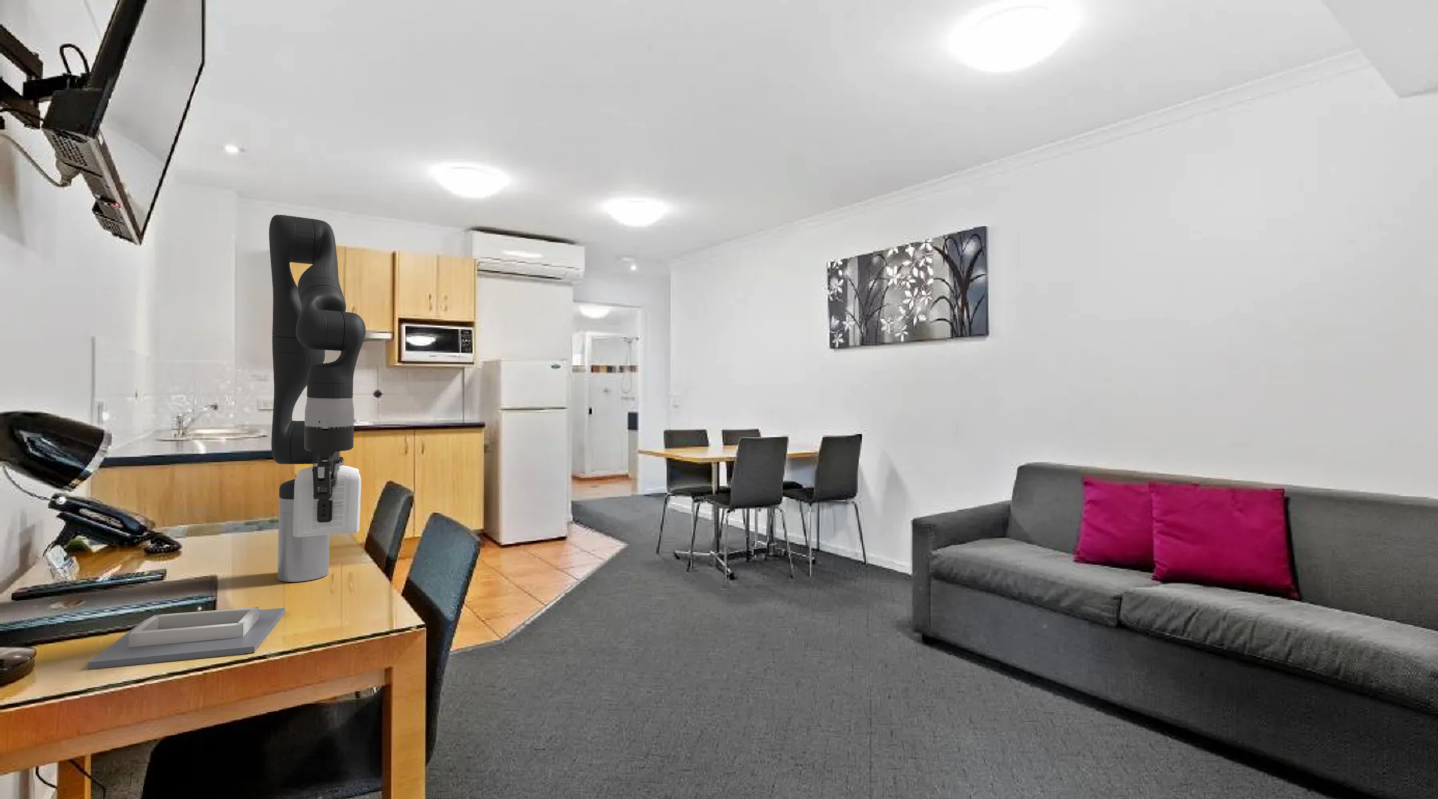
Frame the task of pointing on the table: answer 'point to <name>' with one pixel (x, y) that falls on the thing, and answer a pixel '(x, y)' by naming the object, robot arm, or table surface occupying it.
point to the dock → (191, 636)
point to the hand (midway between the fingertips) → (327, 518)
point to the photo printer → (343, 504)
